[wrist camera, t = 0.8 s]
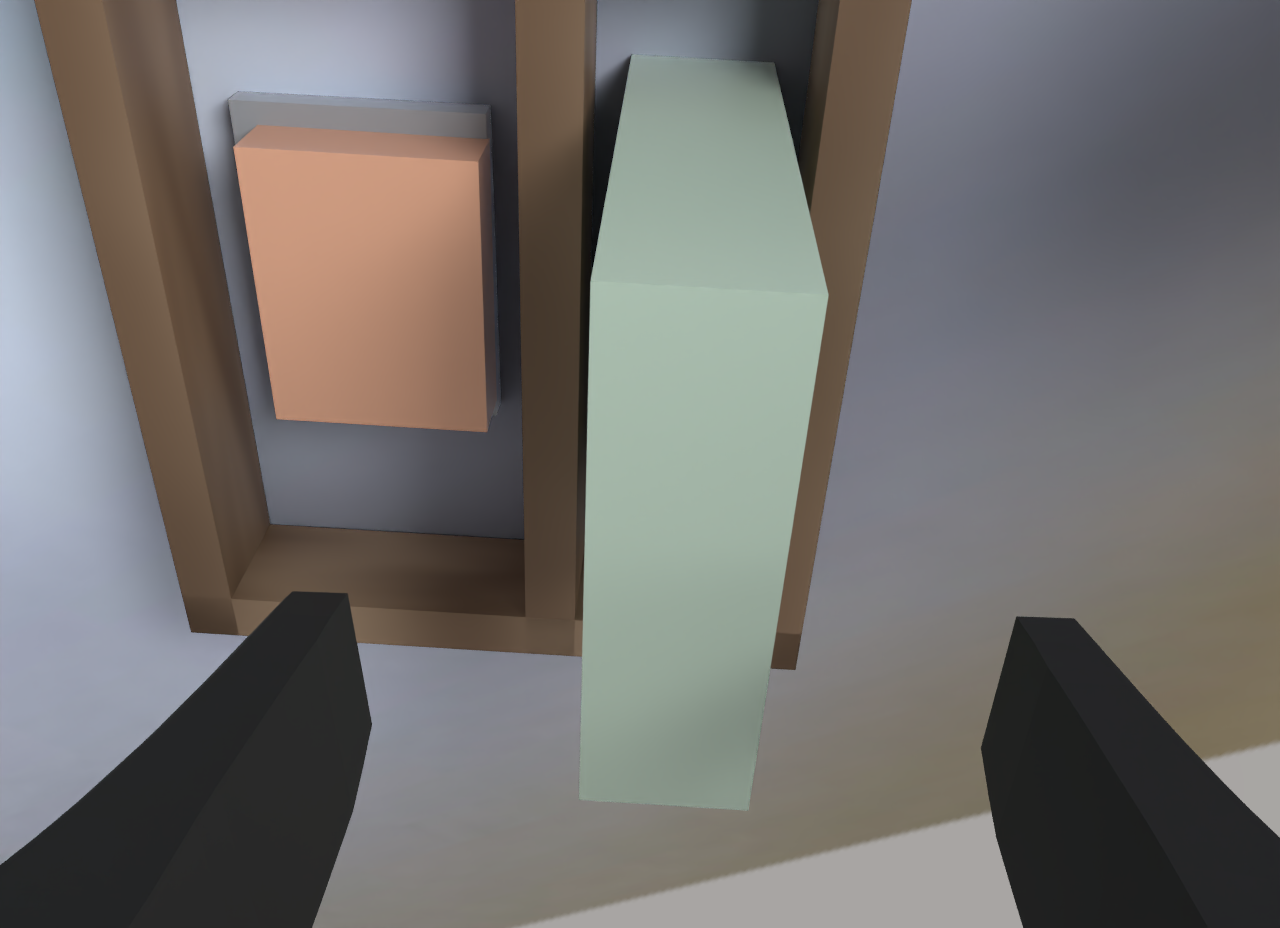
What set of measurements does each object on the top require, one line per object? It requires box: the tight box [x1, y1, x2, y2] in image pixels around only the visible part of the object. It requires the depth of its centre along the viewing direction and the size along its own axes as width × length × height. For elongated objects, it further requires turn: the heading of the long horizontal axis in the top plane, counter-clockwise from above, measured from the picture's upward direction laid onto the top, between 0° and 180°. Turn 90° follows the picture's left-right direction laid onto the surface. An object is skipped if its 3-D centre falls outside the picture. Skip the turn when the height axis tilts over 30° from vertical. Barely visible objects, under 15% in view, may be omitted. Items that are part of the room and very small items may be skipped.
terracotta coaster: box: [233, 125, 497, 432], centre depth 20 cm, size 4×5×1 cm
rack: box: [34, 0, 912, 670], centre depth 20 cm, size 13×15×2 cm
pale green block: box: [579, 54, 829, 811], centre depth 17 cm, size 2×8×9 cm, turn 177°
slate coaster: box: [228, 91, 501, 416], centre depth 21 cm, size 4×6×1 cm
